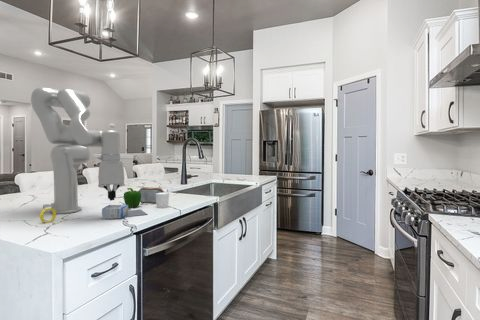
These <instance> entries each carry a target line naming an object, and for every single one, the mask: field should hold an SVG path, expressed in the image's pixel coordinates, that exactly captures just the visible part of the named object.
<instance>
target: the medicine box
mask: <svg viewBox="0 0 480 320" xmlns="http://www.w3.org/2000/svg"><path fill="white" fill-rule="evenodd" d="M128 211H129V207H128V205H125V204H109V205H107V206H104V207H103V208H102V209H101V219H105V220H107V219H108V220H111V219H110V218H117V219H123V217H124V216H126V215H127V214H128Z"/></svg>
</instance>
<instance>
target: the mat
mask: <svg viewBox="0 0 480 320" xmlns="http://www.w3.org/2000/svg"><path fill="white" fill-rule="evenodd" d="M140 216H148V213H147V212H145V211H144V210H143V209H132V210H128V214H127V215H126V216H124V217H123V218H132V217H140ZM123 218H122V219H123ZM109 220H116V218H110V219H109Z"/></svg>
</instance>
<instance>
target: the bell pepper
mask: <svg viewBox="0 0 480 320" xmlns="http://www.w3.org/2000/svg"><path fill="white" fill-rule="evenodd" d="M123 201H124V205H128V208H129V209H130V208H137V207H139V206H140V204H141V202H140V201H141V192H140V191H139V190H138V191H137V190H134V189H133V187H128V188H127V191H125V192H124V193H123Z"/></svg>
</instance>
